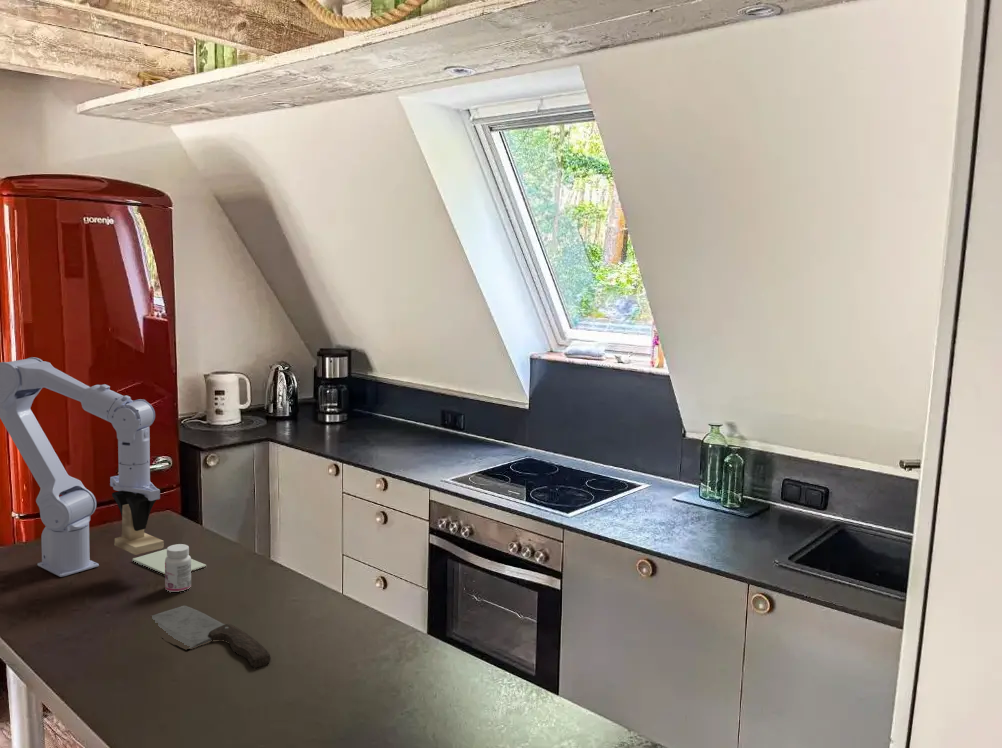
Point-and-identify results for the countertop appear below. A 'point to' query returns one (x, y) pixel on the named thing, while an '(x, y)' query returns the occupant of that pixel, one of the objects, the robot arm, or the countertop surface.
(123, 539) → the wooden post on base
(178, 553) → the pill bottle
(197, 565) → the board
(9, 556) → the countertop surface
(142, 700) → the countertop surface
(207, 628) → the cleaver
